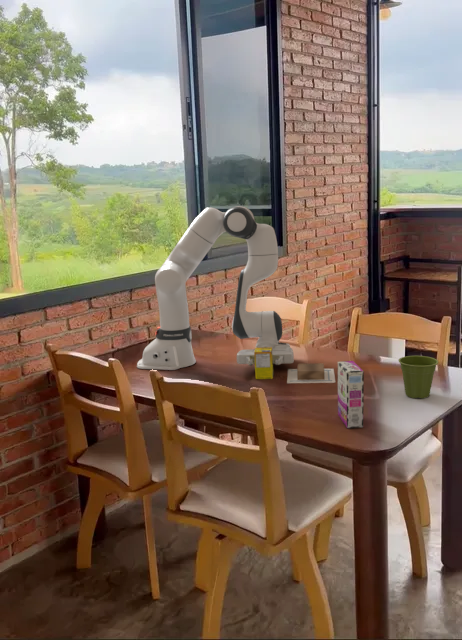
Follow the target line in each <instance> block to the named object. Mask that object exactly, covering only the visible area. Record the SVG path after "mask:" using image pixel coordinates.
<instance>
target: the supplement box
mask: <svg viewBox="0 0 462 640" xmlns="http://www.w3.org/2000/svg"><path fill="white" fill-rule="evenodd" d="M254 349H255V352H254V357H255V364H254V372H255V374H254V375H255V376H254V377H255V380H273V378H274V364H273V356H272V347H262V348H254Z"/></svg>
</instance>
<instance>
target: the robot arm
mask: <svg viewBox="0 0 462 640" xmlns="http://www.w3.org/2000/svg"><path fill="white" fill-rule="evenodd" d="M224 233H226V234H228V235H230V236H232V237H234V238H239V239H242V240H245V241H246V243H247V244H246V245H247V262H246V265H245V267H244V268H243V269H241V271H240V273H239V276H238V277H239V278H238V283H237V290H236V299H235V306H234V313H233V317H232V322H231V329H232V330H231V331H232V333H233V334H234V335H235V336H236V337H237V338H238V339H240V340H244V339H250V338H258V339H257V341H256V344H255V348H262V347H272V356H273V365H275V366H280V365H281V364H293V363H294V359H295V358H294V357H295V356H294V351H293V348H292V347H291V345H290V343H287V342H280V340H281V338H282V336H283V323H282V318H281V316H280V315H279V314H278V312H276V311H275V310H265V311H263V310H262V311H247V300H248V294H249V289H250V288H251V287H252V286H253V285H254V284H258V282H260V281H263V280H266V279H267V278H269V277H271V276H272V275H273V274H274V273H275V272H276V270H278V265H279V248H278V241H277V236H276V232H275V228H274V227H273V226H272V225H269V224H267V223H257V222H256V221H255V215H254V213H253V212H252V211H251V210H250V209H249V208H248V207H246V206H244V205H235V206H233V207H230V208H229V209H227V210H226V211H223V212H222V211H220V210H219V209H217V208H215V207H211V206H210V207H205V208H204V209H203V210H202V211H201V212H200V213H199V214H198V215H197V216H196V217H195V218H194V220H193V221H192V222H191V224H190V225H189V227H188V228H186V231H185V232H184V233H183V235H182V236H181V238H180V239H179V241H178V242H177V243H176V245H175V246H174V247H173V249H172V250H171V252H170V254H169V255H168V256H167V258H166V259H165V261H164V262H163V263H162V265H161V267H159V268H158V269H157V271H156V273H155V274H154V275H155V276H154V283H155V292H156V293H155V294H156V299H157V304H158V311H159V314H158V315H159V325H160V326H157V328H156V330H155V334H154V335H155V337H156V338H155V339H153V340H152V341H151V342H150V343H148V344H147V346H145V348H144V349H143V351H142V358H141V359H139V360H138V361H137V364H136V367H137V369H140V370H141V369H143V370H165V371H168V370H169V371H175V370H178V369H180V368H181V369H182V368H186V367H189V366H193V365H194V364H195V363H197V360H196V358H195V357H196V356H195V355H194V350H193V346H192V336H193V335H192V328H191V326H190V315H189V314H190V313H189V304H188V297H187V289H186V288H187V287H186V286H187V285H186V283H187V281H188V280H189V278H190V277H191V275H192V274H193V273H194V271H195V270H196V269H197V267H198V266H199V265H200V263H201V262H202V261H203V260H204V258H205V257H206V255H207V254H208V253H209V252H210V250H211V248H212V247H213V246H214V244H215V243H216V241H217V240H218V238H219V237H220V236H221V235H222V234H224ZM255 348H254V349H252V348H251V349H240V350H239V351H238V352H237V354H236V364H238V365H248V366H253V365H255V357H254V352H255Z"/></svg>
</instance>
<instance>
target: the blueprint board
mask: <svg viewBox="0 0 462 640" xmlns="http://www.w3.org/2000/svg"><path fill="white" fill-rule="evenodd" d="M297 369H298V368H287V379H286V384H321V383H323V384H326V383H327V384H333V383H336V376H335V370H334V368H324V379H321V380H298V376H297Z"/></svg>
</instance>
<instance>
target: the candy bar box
mask: <svg viewBox="0 0 462 640" xmlns="http://www.w3.org/2000/svg"><path fill="white" fill-rule="evenodd" d="M364 374H365V371H364V370H363V369H362V368H361V367H360V366H359V365H358V364H357V363H356V362H355V361H354V360H344V361H337V415H338V417H339V418H340V420H341V421H342V423H343V424H344V426H345V427H346V428H347V429H361V428H364V426H365V425H364V407H365V406H364V401H365V400H364V397H365V395H364V391H365V390H364V389H365V387H364V386H365V385H364V384H365V383H364V382H365V380H364V379H365V378H364Z"/></svg>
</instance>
